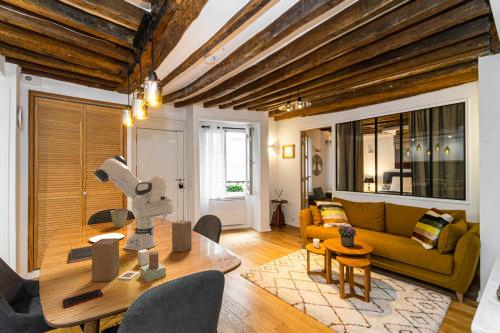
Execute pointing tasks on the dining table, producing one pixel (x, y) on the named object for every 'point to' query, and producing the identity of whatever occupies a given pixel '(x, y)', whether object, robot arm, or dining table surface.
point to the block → (181, 236)
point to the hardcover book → (80, 254)
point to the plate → (106, 236)
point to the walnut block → (153, 260)
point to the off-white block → (143, 257)
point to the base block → (152, 272)
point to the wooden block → (105, 259)
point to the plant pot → (119, 217)
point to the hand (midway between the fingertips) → (155, 223)
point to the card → (128, 275)
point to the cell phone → (82, 298)
